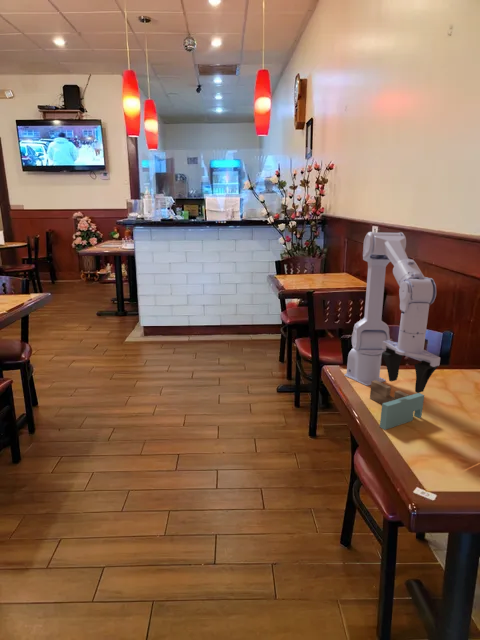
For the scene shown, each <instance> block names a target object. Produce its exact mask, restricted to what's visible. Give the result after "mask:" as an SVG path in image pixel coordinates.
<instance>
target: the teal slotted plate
mask: <svg viewBox="0 0 480 640" xmlns="http://www.w3.org/2000/svg"><path fill="white" fill-rule="evenodd" d="M424 400H425V395H424V394H423V393H422V392H420V393H417V392H415V393H413V394H409V396H406V397H403V398H399V399H396V400H393V401H389V402H386V403H383V404H381V412H380V420H379V428H381V429H382V430H384V431H386V430H389V429H392V428H396V427H398V426H400V425H404V424H406V423H410V422H412V421H414V420H413V418H414V416H415V417H416V418H418V419H421V418H422V416H423V415H422V414H423V410H424V409H423V407H424Z"/></svg>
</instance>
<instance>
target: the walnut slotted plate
mask: <svg viewBox="0 0 480 640" xmlns="http://www.w3.org/2000/svg"><path fill="white" fill-rule="evenodd" d="M391 389H392V387H391V386H390V385H387V384H385V383H384V382H379V381H377V380H374V381H371V385H370V391H369V399H370V400H372V401H374V402H376V403H379V404H380V405H382V404H383V403H386V402H389V401H393V400H396V399H399V398H403V397H406V396H410V394H408V393H406V392H404V391H401V390H395V391H394V395H393V396H391V391H392V390H391Z"/></svg>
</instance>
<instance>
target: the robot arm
mask: <svg viewBox="0 0 480 640" xmlns="http://www.w3.org/2000/svg"><path fill="white" fill-rule="evenodd" d="M406 247H407V238H406V235H405V234H404V233H403V232H402V231H400V232H380V231H379V232H378V231H377V232H375V231H368V232H367V233H366V235H365V237H364V240H363V248H362V250H363V251H362V260H363V261H365V262H367V277H366V292H365V304H364V314H363V315H364V316H363V318H362V319H360V320H359V321H357V322H356V323H354V326H353V329H352V330H353V331H352V333H351V345H352V346H351V347H352V348H351V350H350V351H349V352H348V354H347V355H348V356H347V363H346V365H347V366H346V373H345V374H344V377H347V378H349V379H351V380H353V381H355V382H356V383H360V384H362V385H364V386H367V387H369V386H371V381H374V380H377V381H379V382H381V383H384V382H386V379H385V378H383V377H380V376H381V365H382V359H383V360H384V362H385V366H386V369H387V377H388V380H389V382H395V381H397V380H398V377H399V371H400V366H401V362H402V359H403V356H405V357H408V358H411V359H412V360H413V359H414V360H417V361H419V362H418V363H415V364H414V369H415V386H414V391H415V393H424V391H425V388H426V386H427V383H428V381H429V379H430V378H431V376H432V375H433V373H434V372H435V371H436V370H437V369H438V367H439V366H440V363H441V357H440V356H438V355H435V354H434V353H432V352H429V351H427V350H426V349H424V348H425V341H426V335H427V334H426V333H427V325H428V318H429V311H430V310H429V309H430V305H432V304H433V303H434V302H435V299H436V297H437V285H436V283H435V280H434V279H433V278H432V277H428V276H427V277H426V276H425V275H424V274H423V272H422V271H421V269H420V267H419V266H418V264H417V263H416V261H415V260H414V259H411V258H409V257H408V255H407V252H406ZM389 263H391V265H393V268H392V275H393V276H394V278H395V280H396V283H397V285H398V286H399V288H398V289H399V290H398V293H399V294H398V296H399V310H400V311H401V314H400V320H399V321H400V323H399V328H398V329H399V331H398V338H397V341H393V340H391V337H390V336H391V335H390V328H389V326H388V324H387V323H386V322H384V321H383V317H382V315H383V307H384V306H383V305H384V293H385V281H386V269H387V268H386V267H387V266H388V264H389Z"/></svg>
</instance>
